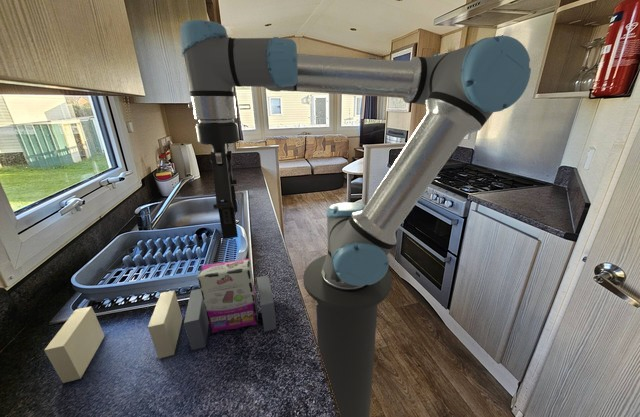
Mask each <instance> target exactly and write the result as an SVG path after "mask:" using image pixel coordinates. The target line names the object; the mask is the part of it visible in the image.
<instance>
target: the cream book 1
mask: <svg viewBox="0 0 640 417" xmlns="http://www.w3.org/2000/svg"><path fill="white" fill-rule="evenodd" d="M105 335H106V334H104V331H103V329H102V326H101V324H100V322H99V320H98V317H97V315H96V313H95V311H94V308H93V306H86V307H81V308H76V309H75V310H74V311H73V312H72V314H71V315H70V317H68V319H67V320H66V321H65V323H64V324H63V325H62V326H61V328H60V329H59V330H58V332H57V333H56V334H55V335H54V336H53V337H52V340H50V342H49V343H48V345H47V346H46V347H45V348H44V350H43V351H44V353H45V355H46V356H47V358H48V360H49V362H50V363H51V365H52V367H53V369H54V370H55V372H56V374H57V376H58V378H59V379H60V381H61V383H62V384H65V383H69V382H73V381H76V380H80V379H82V377H83V376H84V374H85V372H86V370H87V368H88V367H89V365H90V364H91V362H92V359H93V358H94V356H95V354H96V352H97V351H98V349H99V347H100V345H101V344H102V342H103V340H104V338H105Z"/></svg>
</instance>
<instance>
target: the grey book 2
mask: <svg viewBox="0 0 640 417" xmlns="http://www.w3.org/2000/svg"><path fill="white" fill-rule="evenodd" d="M256 282H257V290H258V296H259V303H260V304H259V305H260V311H261V318H262V324H263V325H262V326H263V332H269V331H272V330H277V329H278V328H277V327H278V326H277V319H276V318H277V316H276V310H275V301H274V297H273V292H272V287H271V283H270V276H269V275H268V274H267V275H262V276H257V277H256Z"/></svg>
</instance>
